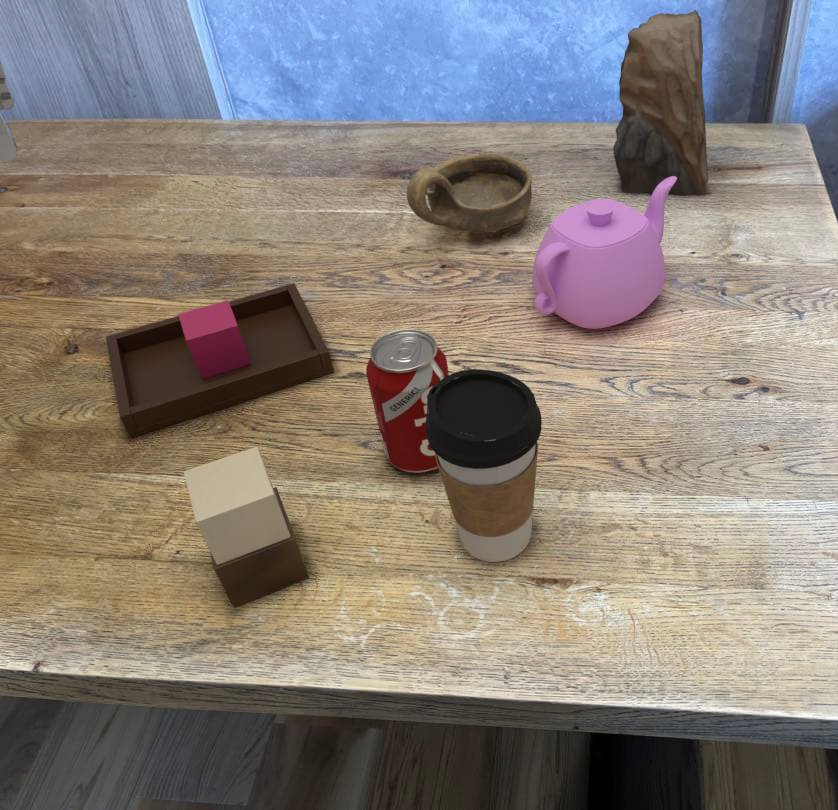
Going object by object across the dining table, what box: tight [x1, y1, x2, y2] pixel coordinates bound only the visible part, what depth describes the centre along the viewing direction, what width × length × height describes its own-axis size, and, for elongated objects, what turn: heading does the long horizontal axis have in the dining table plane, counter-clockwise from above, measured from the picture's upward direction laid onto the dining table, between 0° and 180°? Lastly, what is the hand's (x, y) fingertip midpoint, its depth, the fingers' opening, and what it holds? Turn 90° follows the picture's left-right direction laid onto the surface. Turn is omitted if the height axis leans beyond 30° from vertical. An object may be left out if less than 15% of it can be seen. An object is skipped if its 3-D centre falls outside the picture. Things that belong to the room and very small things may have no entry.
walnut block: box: [209, 486, 310, 609], centre depth 64 cm, size 6×6×5 cm
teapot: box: [531, 176, 677, 330], centre depth 88 cm, size 20×13×12 cm, turn 130°
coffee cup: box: [425, 368, 543, 563], centre depth 63 cm, size 8×8×15 cm
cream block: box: [183, 446, 290, 565], centre depth 61 cm, size 6×6×5 cm
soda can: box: [365, 328, 450, 474], centre depth 71 cm, size 7×7×12 cm
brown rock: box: [612, 9, 709, 196], centre depth 107 cm, size 13×13×20 cm
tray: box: [105, 282, 335, 439], centre depth 85 cm, size 20×14×3 cm
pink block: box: [177, 299, 251, 379], centre depth 83 cm, size 5×5×5 cm
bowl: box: [406, 152, 533, 234], centre depth 101 cm, size 14×18×10 cm
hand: (3, 131), depth 53 cm, fingers open, 8 cm apart
